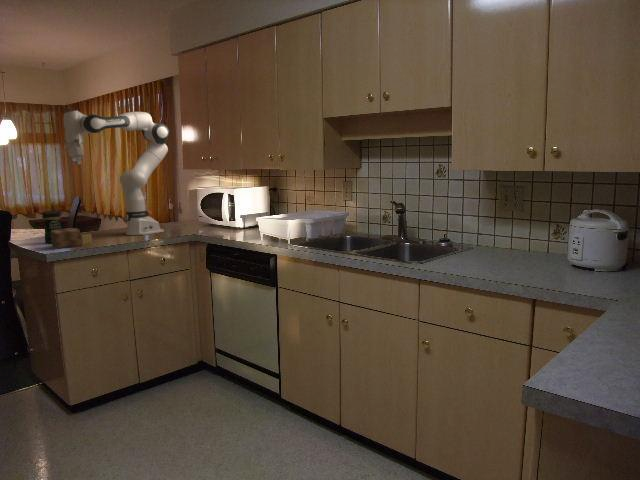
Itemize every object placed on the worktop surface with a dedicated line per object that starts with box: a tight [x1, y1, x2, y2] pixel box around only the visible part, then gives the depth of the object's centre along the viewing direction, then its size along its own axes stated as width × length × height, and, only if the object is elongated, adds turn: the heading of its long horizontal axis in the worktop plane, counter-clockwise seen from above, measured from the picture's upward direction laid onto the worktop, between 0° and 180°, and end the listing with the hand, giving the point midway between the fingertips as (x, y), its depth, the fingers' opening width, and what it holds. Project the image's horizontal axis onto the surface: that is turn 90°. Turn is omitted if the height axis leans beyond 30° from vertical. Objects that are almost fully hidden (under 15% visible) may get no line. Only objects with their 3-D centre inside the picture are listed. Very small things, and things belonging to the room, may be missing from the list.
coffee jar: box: [41, 210, 62, 244], centre depth 291 cm, size 10×8×19 cm
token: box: [80, 233, 93, 245], centre depth 286 cm, size 5×2×5 cm, turn 129°
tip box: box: [51, 227, 83, 250], centre depth 276 cm, size 12×12×9 cm
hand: (77, 164), depth 288 cm, fingers open, 8 cm apart
